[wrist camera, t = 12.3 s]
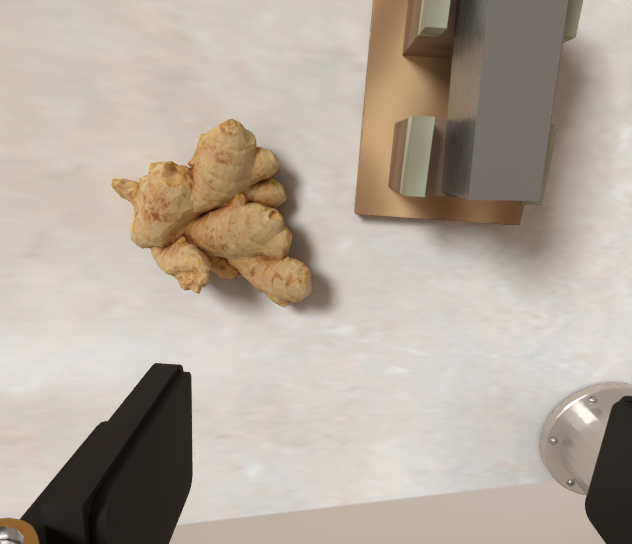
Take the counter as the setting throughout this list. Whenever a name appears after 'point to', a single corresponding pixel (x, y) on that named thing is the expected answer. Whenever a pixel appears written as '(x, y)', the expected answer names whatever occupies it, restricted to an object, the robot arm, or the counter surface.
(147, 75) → the counter surface
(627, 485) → the robot arm
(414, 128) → the post rig
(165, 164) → the ginger root
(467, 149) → the bracket bar
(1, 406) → the counter surface
